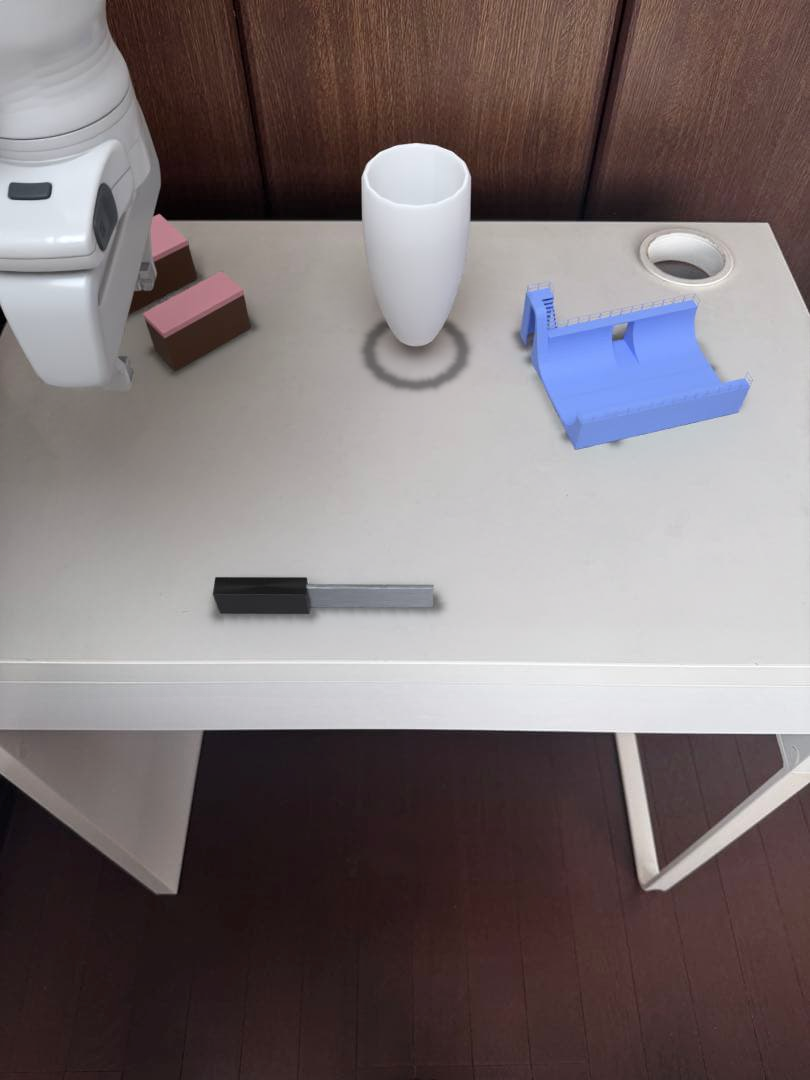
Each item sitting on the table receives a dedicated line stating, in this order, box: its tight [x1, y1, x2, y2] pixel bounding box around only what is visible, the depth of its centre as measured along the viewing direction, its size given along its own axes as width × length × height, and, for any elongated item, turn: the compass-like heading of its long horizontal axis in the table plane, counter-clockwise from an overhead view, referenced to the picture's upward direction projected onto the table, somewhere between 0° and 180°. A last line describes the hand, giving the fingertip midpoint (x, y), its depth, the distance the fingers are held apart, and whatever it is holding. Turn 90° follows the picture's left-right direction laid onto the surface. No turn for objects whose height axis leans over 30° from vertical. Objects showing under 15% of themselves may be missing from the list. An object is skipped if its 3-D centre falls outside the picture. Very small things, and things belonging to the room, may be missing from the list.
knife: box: [212, 576, 435, 615], centre depth 77 cm, size 19×2×4 cm, turn 90°
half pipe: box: [519, 281, 754, 451], centre depth 90 cm, size 18×16×7 cm
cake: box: [128, 213, 198, 315], centre depth 99 cm, size 10×6×6 cm, turn 130°
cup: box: [361, 142, 472, 347], centre depth 86 cm, size 10×10×22 cm
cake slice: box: [142, 270, 251, 372], centre depth 94 cm, size 10×4×6 cm, turn 131°
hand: (132, 331), depth 59 cm, fingers open, 8 cm apart
